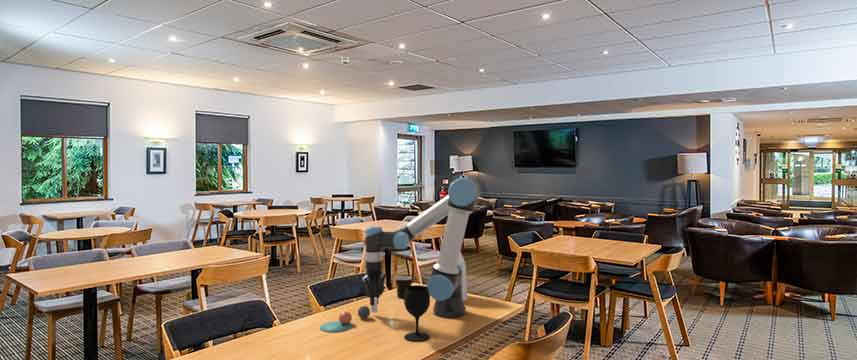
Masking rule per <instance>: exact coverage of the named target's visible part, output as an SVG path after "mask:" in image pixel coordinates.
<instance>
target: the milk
mask: <svg viewBox="0 0 857 360" xmlns="http://www.w3.org/2000/svg"><path fill="white" fill-rule="evenodd" d="M457 264H460V265H461V266H462V298H463V302H465V301H464V300H467V301H468V290H467V289H468V286H467V285H468V284H467V269H466V267H467V266H466V262H465V259H464V256H463V254H462V251H461V250H460V255H459V259H458V263H457Z"/></svg>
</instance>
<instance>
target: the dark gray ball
mask: <svg viewBox="0 0 857 360" xmlns="http://www.w3.org/2000/svg"><path fill="white" fill-rule="evenodd" d="M370 313H371V308H369V307H368V306H367V305H362V306H360V307H359V308H358V310H357V315H358V317H359V318H360V319H363V320H365V319H368V317H369V316H370Z"/></svg>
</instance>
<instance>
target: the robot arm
mask: <svg viewBox="0 0 857 360" xmlns="http://www.w3.org/2000/svg"><path fill="white" fill-rule="evenodd" d="M481 194H482V186H481V183H480V182H479V181H478V180H477V179H476V178H474V177H472V176H465V177H462V176H461V177H458V178H455V179H454V180H453V181H452V182H451V183H450V185H449V187H448V190H447V194H446V196H444V197H443V198H442V199H440V200H439V201H437V202H436V203H435V204H433V205H432V206H430V207H429V208H428V209H426V210H425V211H423V212H422V213H420V214H419V215H417V216H416V217H415V218H413V219H412V220H411V221H410V222H408V223H406V224H405V225H403V226H402V227H400V228H399V229H396V230H395V231H383V228H382V226H379V225H377V226H376V225H373V226H372V225H371V226H367V227H366V229H365V236H364V237H365V260H366V261H365V269H366V270H365V271H366V272H365V275H364V276H363V277H361V281H362V283H363V287H364V292H365V296H366V297H367V298H369V301H370V302H369V305H370V313H378V305H379V298H381V296H382V295H383V291H384V285H385V281H386V280H385V279H386V276H387V273H383V270H382V269H383V261H382V260H383V249H391V250H392V249H395V250H406V249H407V247H408V245H409V243H410V242H412V241H413V240H414V239H416V238H417V237H418V236H420V235H421V234H423V233H424V232H425V231H427V230H428V229H430V228H432V226H434V225H436V224H437V223H439V222H440V221H441V220H443V219H444V218H446V217H447V219H446V224H445V228H444V233H443V238H442V241H441V245H440V250H439V255H438V259H437V262H436V263H434V264H433V265H432V269H431V274H430V277H429V278H428V279H427V281H426V285H425V286H426V287H428V290H429V294H430V298H432V299H433V300H435V302H434V304H433V309H432V311H433V314H434V315H435V316H438V317H439V318H440V317H442V318H449V319H450V318H460V317H463V316H465V315H466V314H467V312H466V311H467V310H466V309H467V308H466V306H465V303H464V302H465V301H463V298H462V266H461V265H460V264H457V263H458V259H459V255H460V251H461V250H462V246H463V242H464V238H465V232H466V230H467V226H468V225H467V224H468V220H469V216H470V214H473V213H474V210H475V207H476V201H478V199H479V198H480V196H481Z"/></svg>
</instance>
